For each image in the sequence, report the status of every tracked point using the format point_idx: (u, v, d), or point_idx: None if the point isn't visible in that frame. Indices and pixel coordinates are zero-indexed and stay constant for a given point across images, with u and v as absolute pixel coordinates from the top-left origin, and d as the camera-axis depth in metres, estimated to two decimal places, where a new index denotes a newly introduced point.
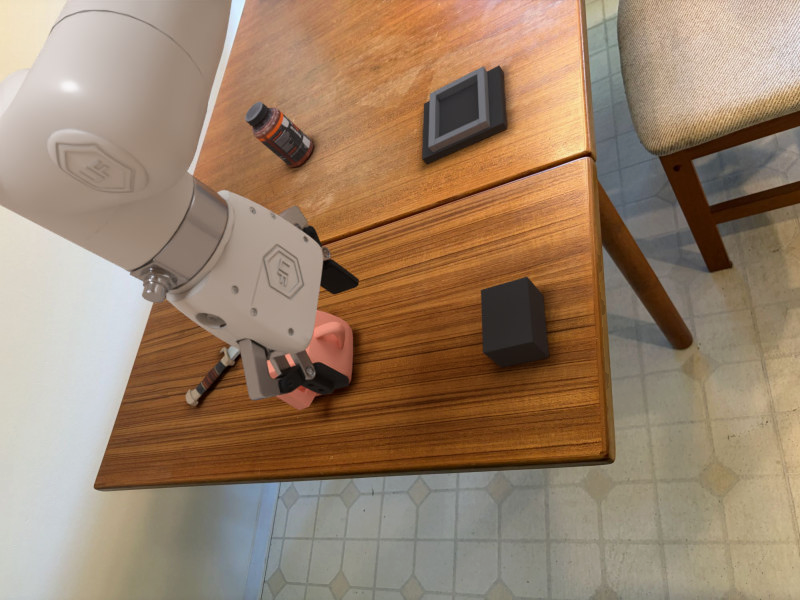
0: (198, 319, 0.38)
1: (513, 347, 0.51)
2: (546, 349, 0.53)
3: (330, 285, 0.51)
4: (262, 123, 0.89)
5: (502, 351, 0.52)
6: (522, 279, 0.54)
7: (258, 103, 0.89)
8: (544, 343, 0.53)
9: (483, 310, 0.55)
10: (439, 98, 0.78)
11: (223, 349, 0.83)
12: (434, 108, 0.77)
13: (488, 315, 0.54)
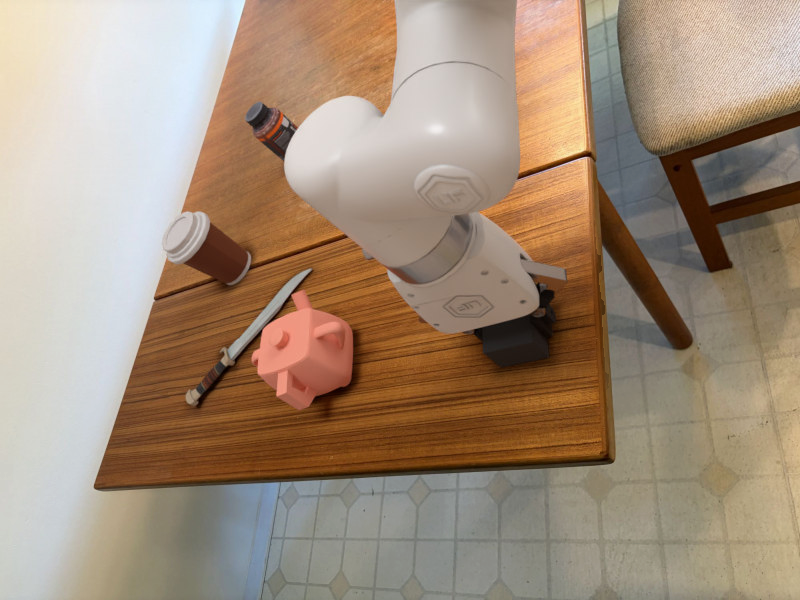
0: None
1: (513, 347, 0.51)
2: (546, 349, 0.53)
3: None
4: (262, 123, 0.89)
5: (502, 351, 0.52)
6: None
7: (258, 103, 0.89)
8: (544, 343, 0.53)
9: None
10: None
11: (223, 349, 0.83)
12: None
13: None
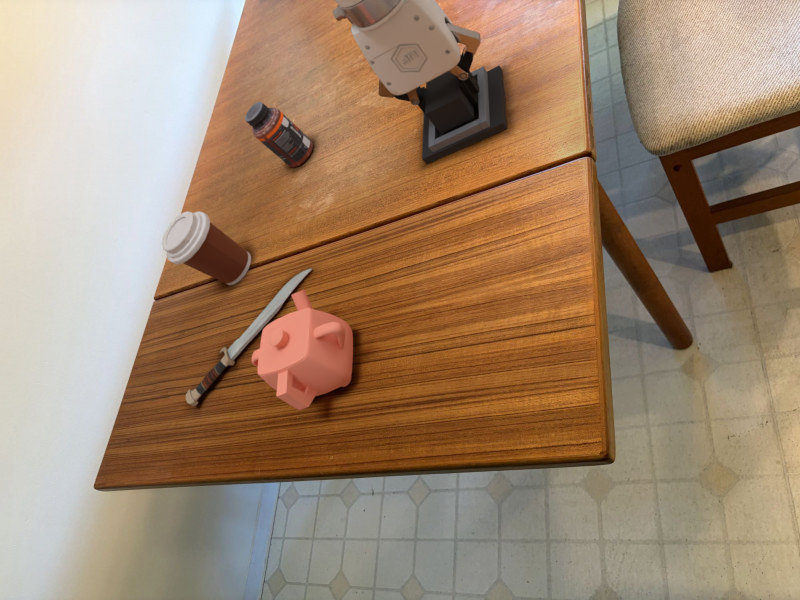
0: None
1: (446, 105, 0.70)
2: (472, 112, 0.71)
3: None
4: (262, 123, 0.89)
5: (439, 110, 0.71)
6: None
7: (258, 103, 0.89)
8: (470, 107, 0.71)
9: (427, 89, 0.73)
10: None
11: (223, 349, 0.83)
12: None
13: (430, 91, 0.73)
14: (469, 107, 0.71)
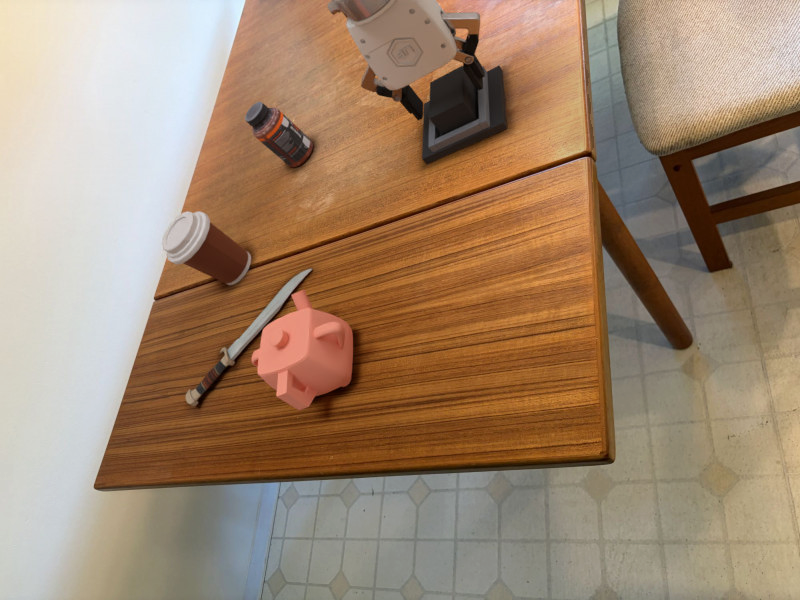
0: None
1: (450, 110, 0.70)
2: (475, 116, 0.72)
3: None
4: (262, 123, 0.89)
5: (443, 115, 0.71)
6: (459, 68, 0.73)
7: (258, 103, 0.89)
8: (474, 112, 0.72)
9: (431, 93, 0.74)
10: None
11: (223, 349, 0.83)
12: None
13: (434, 95, 0.73)
14: (473, 112, 0.71)
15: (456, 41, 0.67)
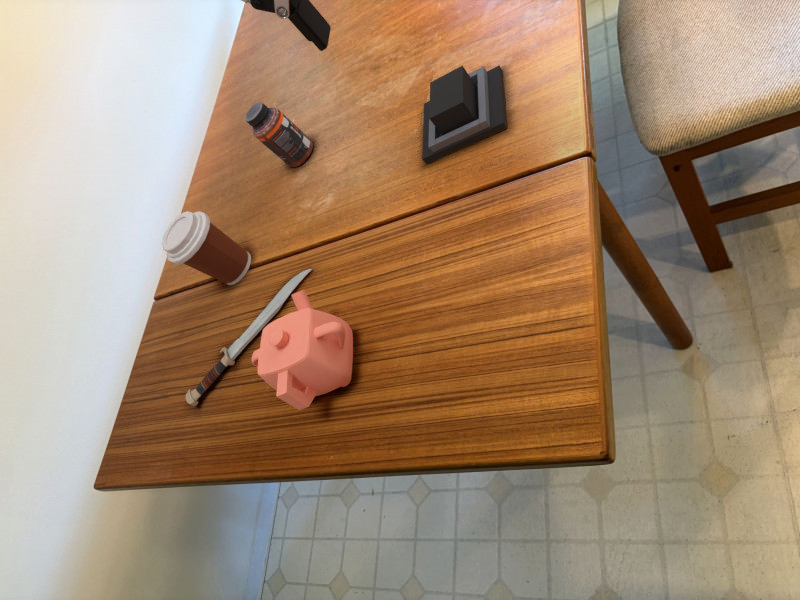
0: None
1: (450, 110, 0.70)
2: (475, 116, 0.72)
3: None
4: (262, 123, 0.89)
5: (443, 115, 0.71)
6: (459, 68, 0.73)
7: (258, 103, 0.89)
8: (474, 112, 0.72)
9: (431, 93, 0.74)
10: None
11: (223, 349, 0.83)
12: None
13: (434, 95, 0.73)
14: (473, 112, 0.71)
15: None
